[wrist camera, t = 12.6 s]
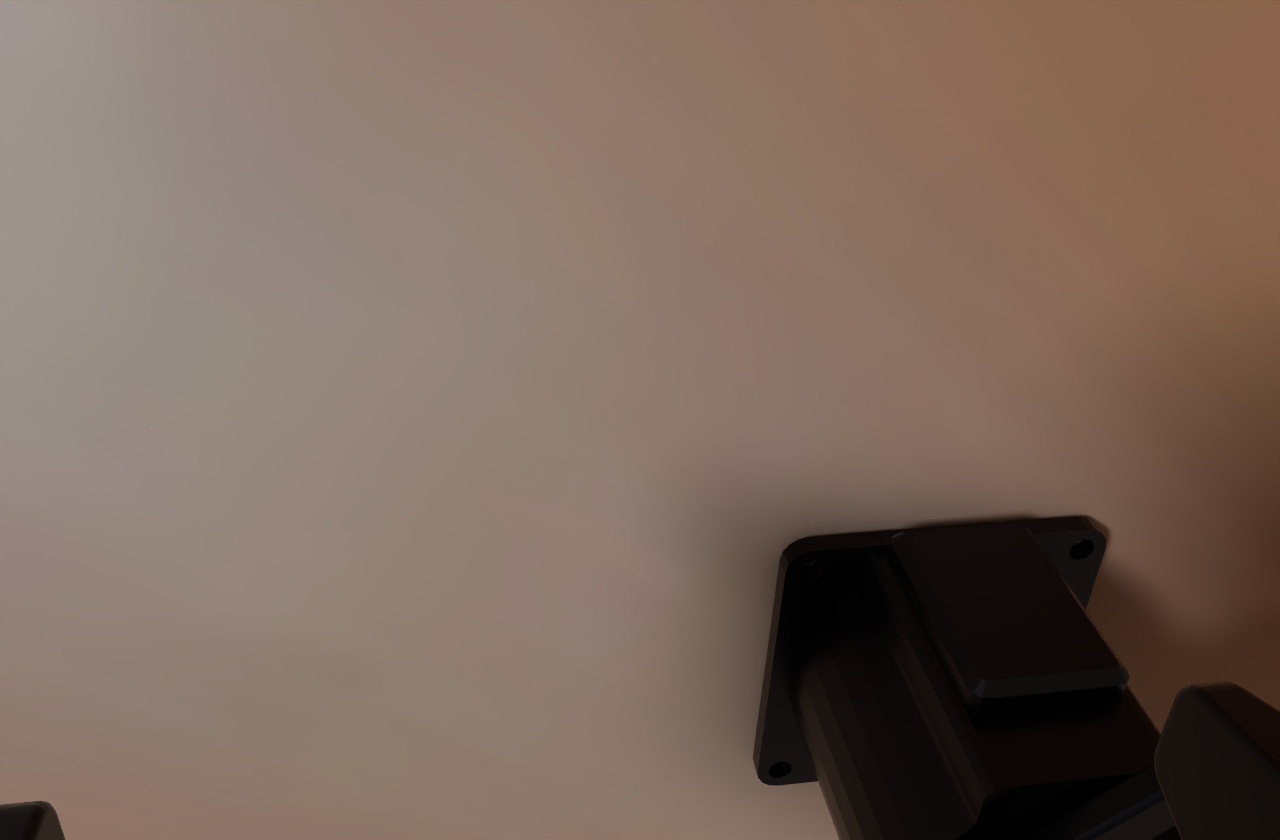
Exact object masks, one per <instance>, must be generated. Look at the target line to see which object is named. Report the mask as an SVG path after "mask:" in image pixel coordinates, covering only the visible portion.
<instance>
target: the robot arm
mask: <svg viewBox="0 0 1280 840" xmlns="http://www.w3.org/2000/svg"><path fill="white" fill-rule="evenodd" d="M1081 540H1082V541H1081ZM1078 541H1081V542H1080V543H1078V544H1077V545H1075V546H1073V545H1074V544H1075V543H1077V542H1078ZM1105 548H1106V539H1105V537H1104V535H1103V534H1102V532H1101V531H1100V530H1099V528H1098V527H1097V526H1096V524H1095V523H1094V522H1093V521H1092V520H1090V519H1088V518H1083V517H1072V518H1059V519H1046V520H1032V521H1019V522H1006V523H992V524H979V525H966V526H953V527H939V528H926V529H913V530H900V531H886V532H873V533H860V534H846V535H833V536H820V537H808V538H803V539H799V540H797V541H795V542H793V543H792V544H790V545H789V546H788V547H787V548H786V549H785V550H784V551H783V553H782V555H781V558H780V562H779V570H778V577H777V584H776V592H775V599H774V606H773V614H772V621H771V628H770V636H769V643H768V650H767V658H766V665H765V672H764V680H763V687H762V694H761V702H760V709H759V716H758V724H757V731H756V738H755V746H754V753H753V762H754V766H755V769H756V772H757V775H758V778H759V779H760V780H761V781H762V783H765V784H767V785H787V784H796V783H805V782H814V781H819V784H820V787H821V790H822V792H823V795H824V798H825V801H826V804H827V806H828V809H829V812H830V815H831V817H832V820H833V823H834V826H835V828H836V831H837V834H838V837H839V839H840V840H1280V711H1278V710H1277V709H1275V708H1274V707H1272V706H1271V705H1269V704H1267V703H1266V702H1264V701H1263V700H1261V699H1259V698H1258V697H1256V696H1255V695H1253V694H1252V693H1250V692H1248V691H1247V690H1245V689H1244V688H1242V687H1240V686H1238V685H1236V684H1233V683H1230V682H1213V683H1203V684H1193V685H1188V686H1185V687H1184V688H1183V689H1182V690H1180V692H1179V693H1178V694H1177V696H1176V698H1175V701H1174V703H1173V706H1172V708H1171V711H1170V713H1169V716H1168V718H1167V721H1166V723H1165V726H1164V728H1163V731H1162V733H1161V734H1160V732H1159V731H1158V729H1157V728H1156V726H1155V725H1154V723H1153V722H1152V720H1151V719H1150V718H1149V716H1148V715H1147V713H1146V712H1145V710H1144V709H1143V707H1142V706H1141V704H1140V703H1139V701H1138V700H1137V698H1136V697H1135V695H1134V694H1133V692H1132V691H1131V690H1130V688H1129V687H1128V685H1127V683H1128V680H1129V675H1128V672H1127V670H1126V668H1125V667H1124V665H1123V664H1122V662H1121V661H1120V660H1119V658H1118V657H1117V655H1116V654H1115V652H1114V651H1113V649H1112V648H1111V646H1110V645H1109V644H1108V642H1107V641H1106V639H1105V638H1104V636H1103V635H1102V633H1101V632H1100V630H1099V629H1098V628H1097V626H1096V625H1095V623H1094V622H1093V620H1092V619H1091V617H1090V616H1089V615H1088V613H1087V612H1086V607H1087V604H1088V601H1089V597H1090V594H1091V591H1092V588H1093V585H1094V582H1095V579H1096V576H1097V573H1098V570H1099V566H1100V563H1101V560H1102V557H1103V554H1104V551H1105ZM810 561H816V562H815V563H814V564H813V565H811V566H810V567H807V568H800V567H801V566H802V565H804V564H805V563H807V562H810ZM0 840H65V837H64V834H63V831H62V828H61V825H60V822H59V819H58V816H57V813H56V811H55V809H54V808H53V806H52V805H51V804H50V803H48V802H45V801H33V802H24V803H14V804H4V805H0Z"/></svg>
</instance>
